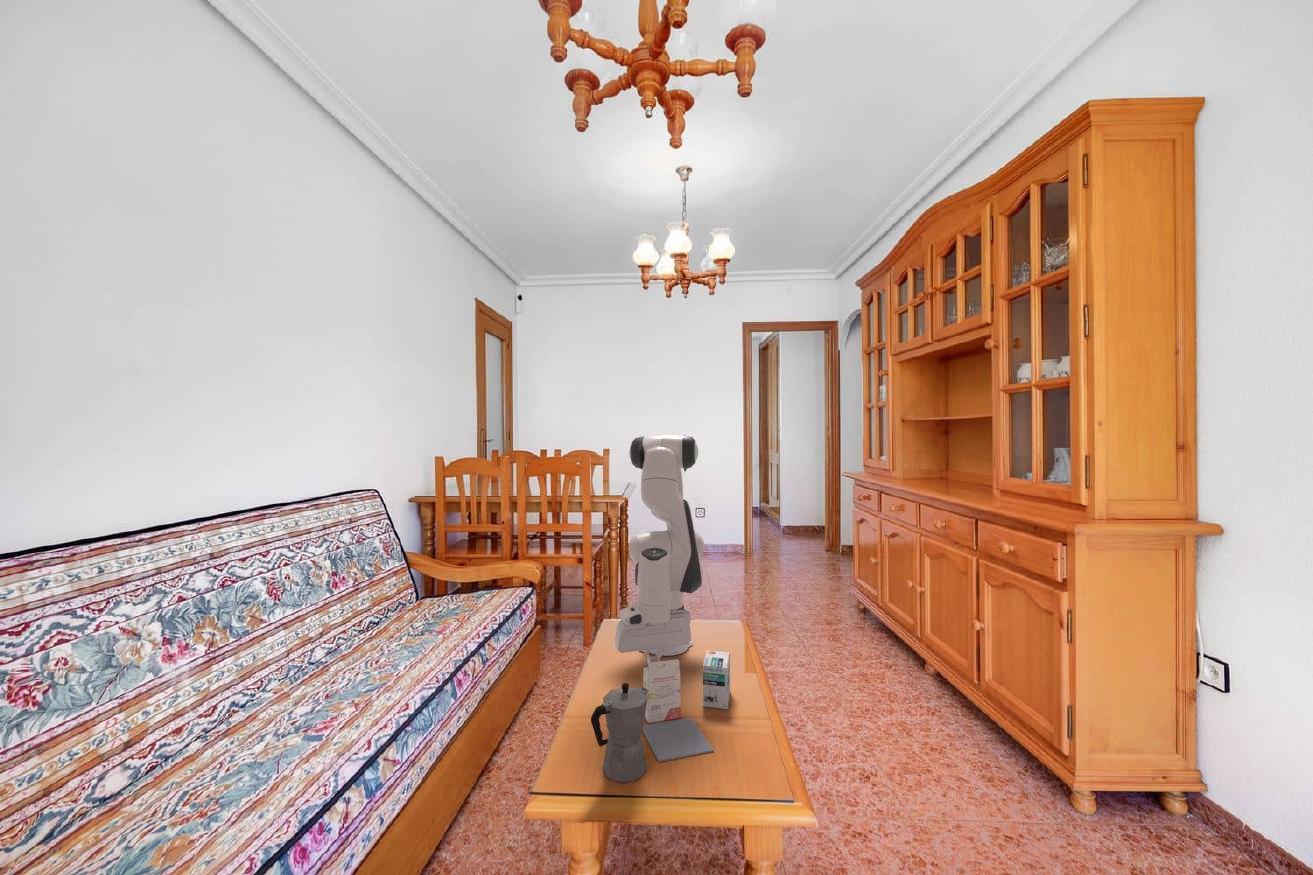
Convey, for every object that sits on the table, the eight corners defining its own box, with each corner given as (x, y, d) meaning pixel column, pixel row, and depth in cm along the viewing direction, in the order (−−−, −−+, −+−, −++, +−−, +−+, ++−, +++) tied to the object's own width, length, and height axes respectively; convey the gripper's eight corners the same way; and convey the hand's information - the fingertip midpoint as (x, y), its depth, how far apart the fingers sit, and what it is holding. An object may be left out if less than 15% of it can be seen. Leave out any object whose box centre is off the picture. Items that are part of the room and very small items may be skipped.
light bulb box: (727, 710, 133) (728, 668, 133) (701, 707, 134) (702, 665, 134) (730, 690, 143) (730, 651, 143) (706, 687, 144) (706, 649, 144)
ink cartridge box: (674, 708, 133) (675, 651, 133) (680, 718, 128) (681, 659, 128) (642, 713, 131) (642, 655, 131) (647, 723, 126) (648, 663, 126)
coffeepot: (633, 746, 116) (633, 666, 117) (662, 765, 110) (663, 681, 110) (577, 777, 106) (577, 689, 106) (605, 800, 99) (606, 706, 99)
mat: (640, 727, 124) (640, 725, 124) (690, 718, 128) (690, 717, 128) (658, 762, 111) (658, 760, 111) (713, 751, 115) (713, 749, 115)
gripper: (686, 604, 142) (686, 654, 142) (614, 611, 136) (613, 664, 136) (695, 611, 136) (694, 664, 136) (619, 619, 130) (619, 674, 130)
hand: (653, 664), depth 136 cm, fingers closed
